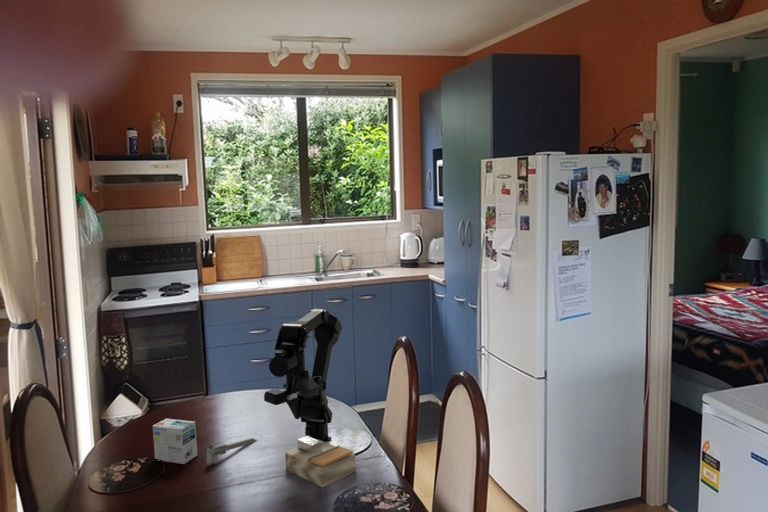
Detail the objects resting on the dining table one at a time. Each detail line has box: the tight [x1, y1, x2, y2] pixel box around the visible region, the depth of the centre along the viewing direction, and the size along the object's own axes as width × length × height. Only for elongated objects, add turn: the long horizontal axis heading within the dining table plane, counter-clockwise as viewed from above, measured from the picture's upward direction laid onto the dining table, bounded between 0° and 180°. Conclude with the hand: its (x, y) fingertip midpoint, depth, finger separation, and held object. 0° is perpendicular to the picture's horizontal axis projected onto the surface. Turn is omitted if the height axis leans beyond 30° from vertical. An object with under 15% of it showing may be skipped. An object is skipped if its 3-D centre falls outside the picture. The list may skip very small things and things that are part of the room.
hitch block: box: [284, 439, 357, 488], centre depth 176 cm, size 16×12×5 cm
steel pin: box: [297, 436, 322, 454], centre depth 178 cm, size 4×6×7 cm, turn 45°
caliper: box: [205, 437, 257, 466], centre depth 189 cm, size 20×1×6 cm, turn 151°
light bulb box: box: [152, 417, 199, 465], centre depth 186 cm, size 11×7×11 cm, turn 71°
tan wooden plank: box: [308, 445, 354, 467], centre depth 172 cm, size 6×11×1 cm, turn 136°
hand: (297, 418), depth 183 cm, fingers closed
